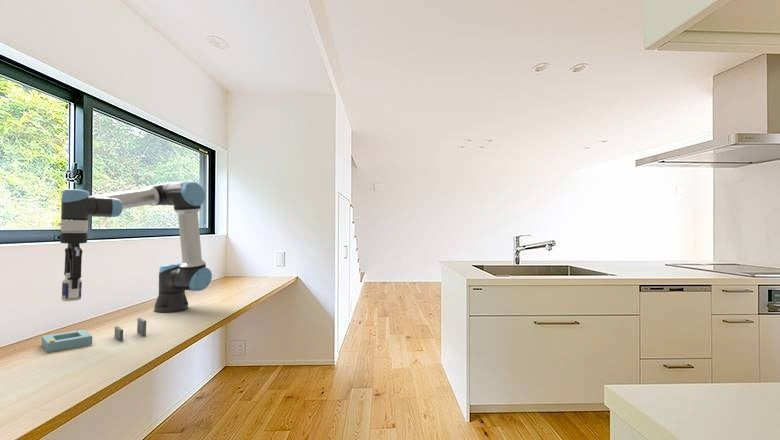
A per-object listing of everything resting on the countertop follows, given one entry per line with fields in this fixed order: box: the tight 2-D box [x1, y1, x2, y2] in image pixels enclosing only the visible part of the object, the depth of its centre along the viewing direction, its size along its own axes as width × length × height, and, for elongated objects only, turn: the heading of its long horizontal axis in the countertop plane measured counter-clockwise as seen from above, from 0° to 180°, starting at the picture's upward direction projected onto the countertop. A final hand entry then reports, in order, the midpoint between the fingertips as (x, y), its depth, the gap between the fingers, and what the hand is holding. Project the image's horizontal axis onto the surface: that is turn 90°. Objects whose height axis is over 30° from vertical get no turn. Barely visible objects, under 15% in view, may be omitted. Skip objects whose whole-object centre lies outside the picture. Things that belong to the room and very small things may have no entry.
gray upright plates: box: [114, 317, 147, 342], centre depth 145 cm, size 8×7×6 cm
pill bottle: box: [61, 273, 83, 302], centre depth 135 cm, size 5×5×10 cm
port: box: [41, 329, 93, 353], centre depth 134 cm, size 12×12×4 cm
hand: (71, 296), depth 135 cm, fingers closed on pill bottle, 5 cm apart
